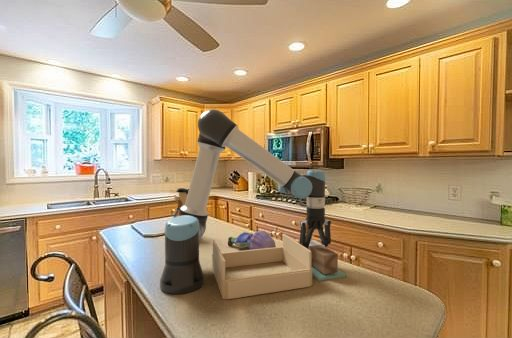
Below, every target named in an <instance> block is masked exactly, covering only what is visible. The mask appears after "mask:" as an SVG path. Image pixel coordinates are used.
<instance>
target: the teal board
mask: <svg viewBox="0 0 512 338" xmlns="http://www.w3.org/2000/svg"><path fill="white" fill-rule="evenodd" d="M311 268H312V278H314V279H315V280H317V281H326V280H333V279H341V278H346V277H347V274H346V273H345V272H344V271H342V270H341V269H339V268H338V272H335V273H328V274H323V273H322V272H320V271H319V270H318V269H316V268H315V267H314V266H312V265H311Z"/></svg>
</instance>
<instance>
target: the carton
mask: <svg viewBox="0 0 512 338" xmlns="http://www.w3.org/2000/svg"><path fill="white" fill-rule="evenodd" d="M274 262H283V263H284V264H285V265H286V266H288V267H289V269H291V270H287V271H286V270H285V271H280V272H279V271H278V272H272V273H271V272H270V273H265V274H264V273H263V274H255V275H248V276H243V277H242V276H241V277H234V278H226V268H234V267H241V266H249V265H258V264H266V263H274ZM211 268H212V272H213V275H214V278H215V280H216V284H217V286H218V289H219V293H220V295H221V298H222V299H223V300H231V299H232V300H233V299H238V298H244V297H252V296H258V295H263V294H264V295H265V294H270V293H271V294H272V293H277V292H283V291H289V290H296V289H297V290H298V289H302V288H303V289H304V288H309V287H311V286H313V276H312V268H311V251H310V250H309V249H307V248H305V247H304V246H302V245H301V244H300V242H297V241H296V240H295V239H293V238H292V237H290V236H288V235H287V234H285V233H283V234H282V246H276V247H274V248H264V249H254V250H250V249H245V250H244V249H243V250H235V251H228V252H227V251H225V252H221V249H220V248H219V246H218V243H217V242H216V240H215V239H212V254H211Z"/></svg>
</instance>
